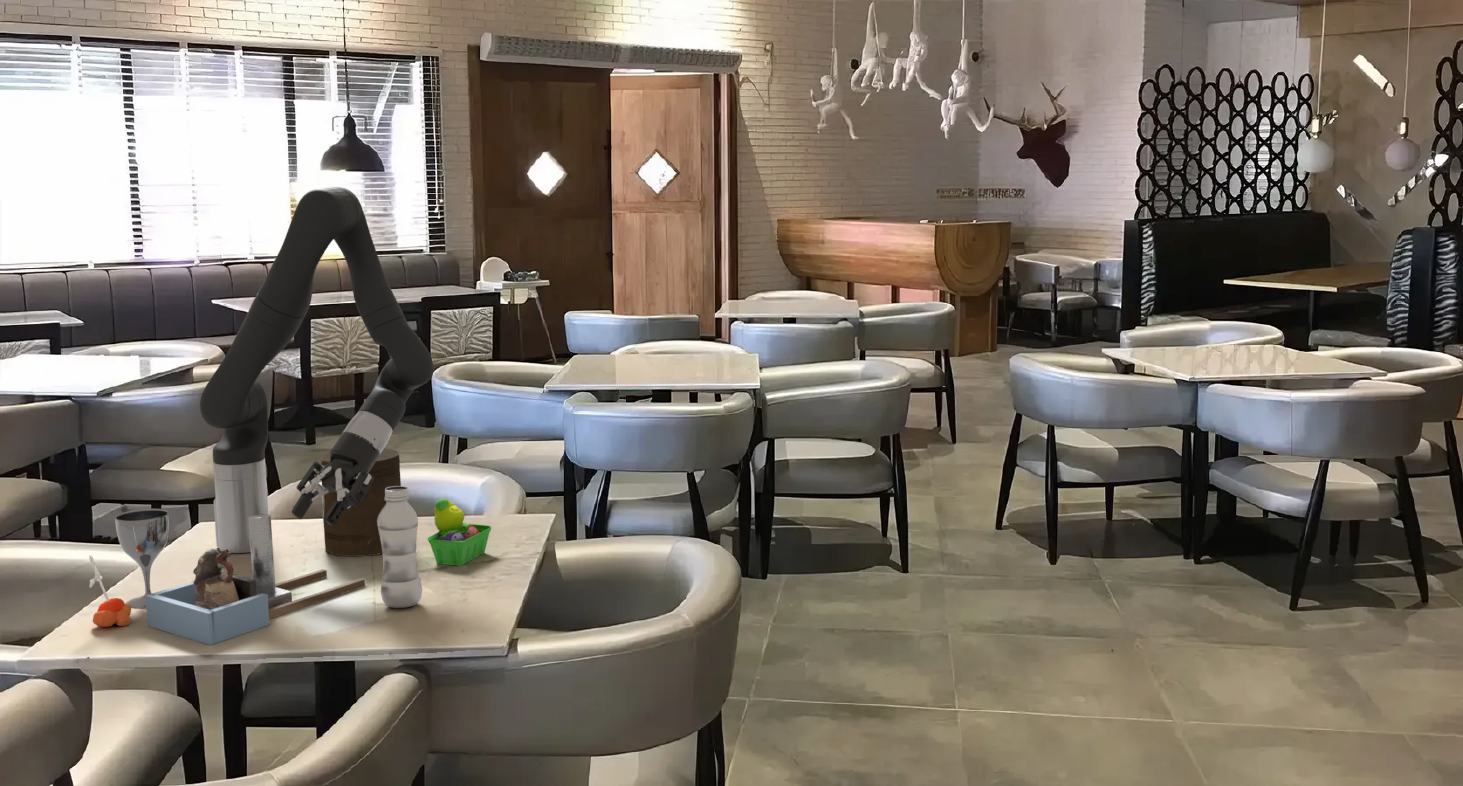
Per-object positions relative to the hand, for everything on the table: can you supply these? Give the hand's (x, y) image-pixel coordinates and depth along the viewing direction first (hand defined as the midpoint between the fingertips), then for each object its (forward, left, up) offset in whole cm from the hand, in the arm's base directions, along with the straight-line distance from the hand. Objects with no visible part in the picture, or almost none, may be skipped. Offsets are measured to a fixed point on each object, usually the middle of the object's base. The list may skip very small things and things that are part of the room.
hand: (312, 519), depth 212 cm
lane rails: (0, -5, -12) cm, 13 cm away
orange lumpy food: (-13, -29, -13) cm, 35 cm away
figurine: (0, -19, -13) cm, 23 cm away
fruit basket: (+7, +27, -13) cm, 31 cm away
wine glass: (-19, -19, -13) cm, 30 cm away
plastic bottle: (+19, +2, -13) cm, 23 cm away
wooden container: (-14, +23, -13) cm, 30 cm away
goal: (0, -21, -12) cm, 24 cm away
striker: (0, -11, -12) cm, 17 cm away
